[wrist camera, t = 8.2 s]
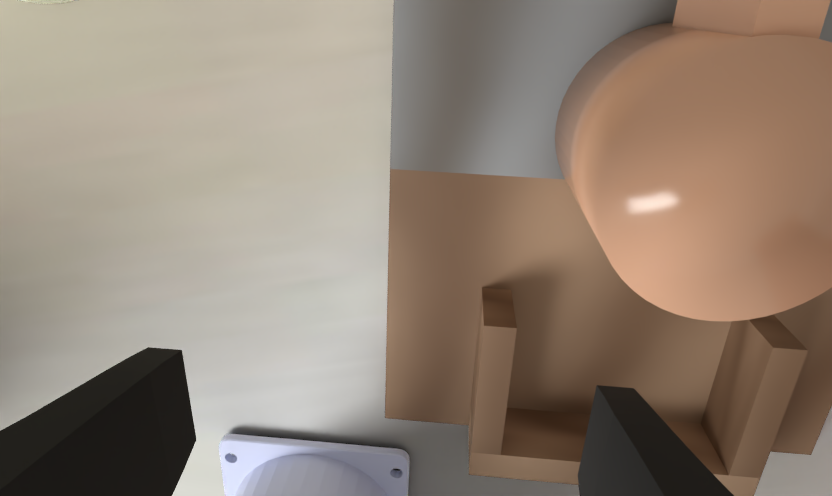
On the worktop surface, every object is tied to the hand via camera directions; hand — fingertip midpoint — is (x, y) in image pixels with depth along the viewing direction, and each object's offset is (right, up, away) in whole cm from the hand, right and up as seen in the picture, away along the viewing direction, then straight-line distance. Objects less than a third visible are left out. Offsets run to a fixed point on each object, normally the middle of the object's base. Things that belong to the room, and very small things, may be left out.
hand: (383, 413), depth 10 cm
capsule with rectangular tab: (+8, +8, +6) cm, 13 cm away
